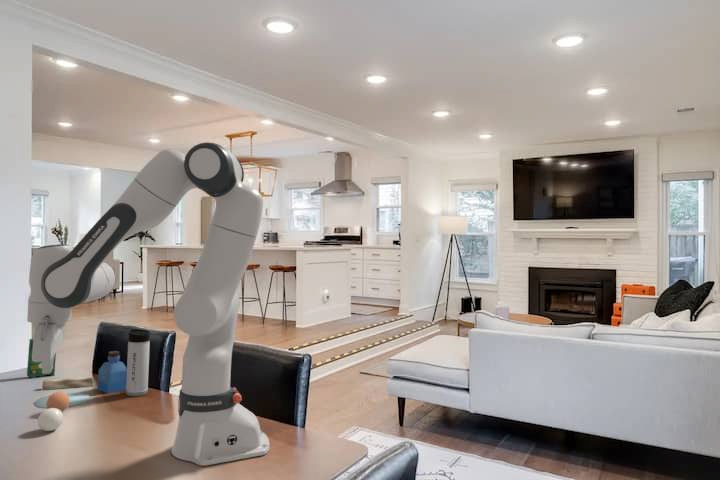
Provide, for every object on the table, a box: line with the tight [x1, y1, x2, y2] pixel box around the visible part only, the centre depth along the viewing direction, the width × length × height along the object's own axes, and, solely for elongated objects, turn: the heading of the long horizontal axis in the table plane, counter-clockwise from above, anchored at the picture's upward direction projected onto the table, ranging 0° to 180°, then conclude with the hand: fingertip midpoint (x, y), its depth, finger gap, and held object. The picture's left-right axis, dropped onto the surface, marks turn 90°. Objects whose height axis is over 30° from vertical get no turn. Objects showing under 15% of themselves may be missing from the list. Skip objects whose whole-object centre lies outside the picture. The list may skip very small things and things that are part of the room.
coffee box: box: [26, 338, 57, 377], centre depth 171 cm, size 8×3×13 cm, turn 130°
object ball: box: [46, 391, 69, 413], centre depth 138 cm, size 6×6×6 cm
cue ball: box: [37, 408, 64, 432], centre depth 125 cm, size 6×6×6 cm
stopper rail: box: [41, 376, 94, 390], centre depth 161 cm, size 14×2×2 cm, turn 115°
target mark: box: [34, 392, 90, 409], centre depth 148 cm, size 14×14×1 cm
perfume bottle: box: [97, 350, 127, 394], centre depth 160 cm, size 6×6×12 cm
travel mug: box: [125, 328, 151, 397], centre depth 157 cm, size 6×7×20 cm
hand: (47, 372), depth 117 cm, fingers closed
